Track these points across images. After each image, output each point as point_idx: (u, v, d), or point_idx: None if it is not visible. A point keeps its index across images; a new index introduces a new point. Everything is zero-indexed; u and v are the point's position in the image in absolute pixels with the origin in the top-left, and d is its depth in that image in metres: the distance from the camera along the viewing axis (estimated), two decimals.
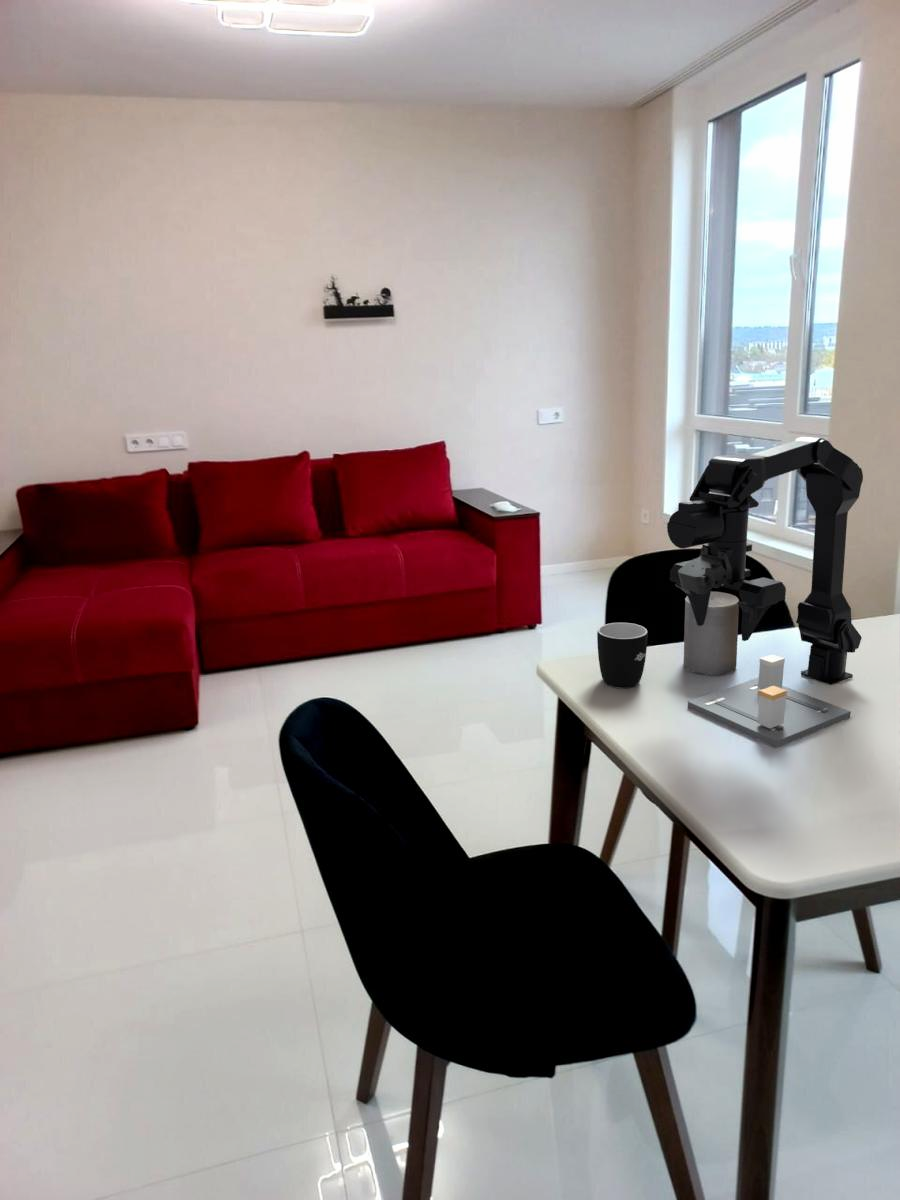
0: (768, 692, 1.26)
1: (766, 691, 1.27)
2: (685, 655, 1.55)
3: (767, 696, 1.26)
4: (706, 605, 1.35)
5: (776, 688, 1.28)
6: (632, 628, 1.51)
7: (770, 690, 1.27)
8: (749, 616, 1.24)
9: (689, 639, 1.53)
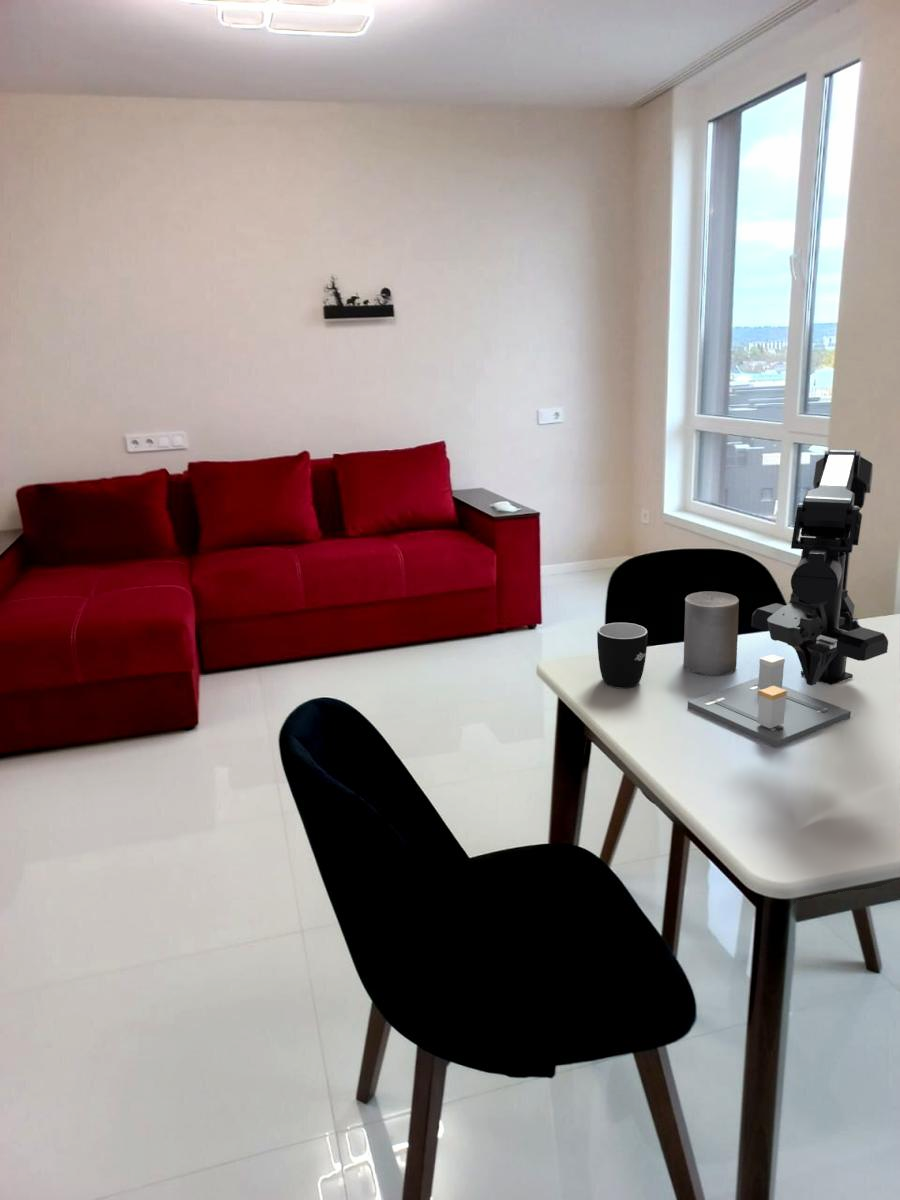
0: (768, 692, 1.26)
1: (766, 691, 1.27)
2: (685, 655, 1.55)
3: (767, 696, 1.26)
4: None
5: (776, 688, 1.28)
6: (632, 628, 1.51)
7: (770, 690, 1.27)
8: (818, 660, 1.17)
9: (689, 639, 1.53)
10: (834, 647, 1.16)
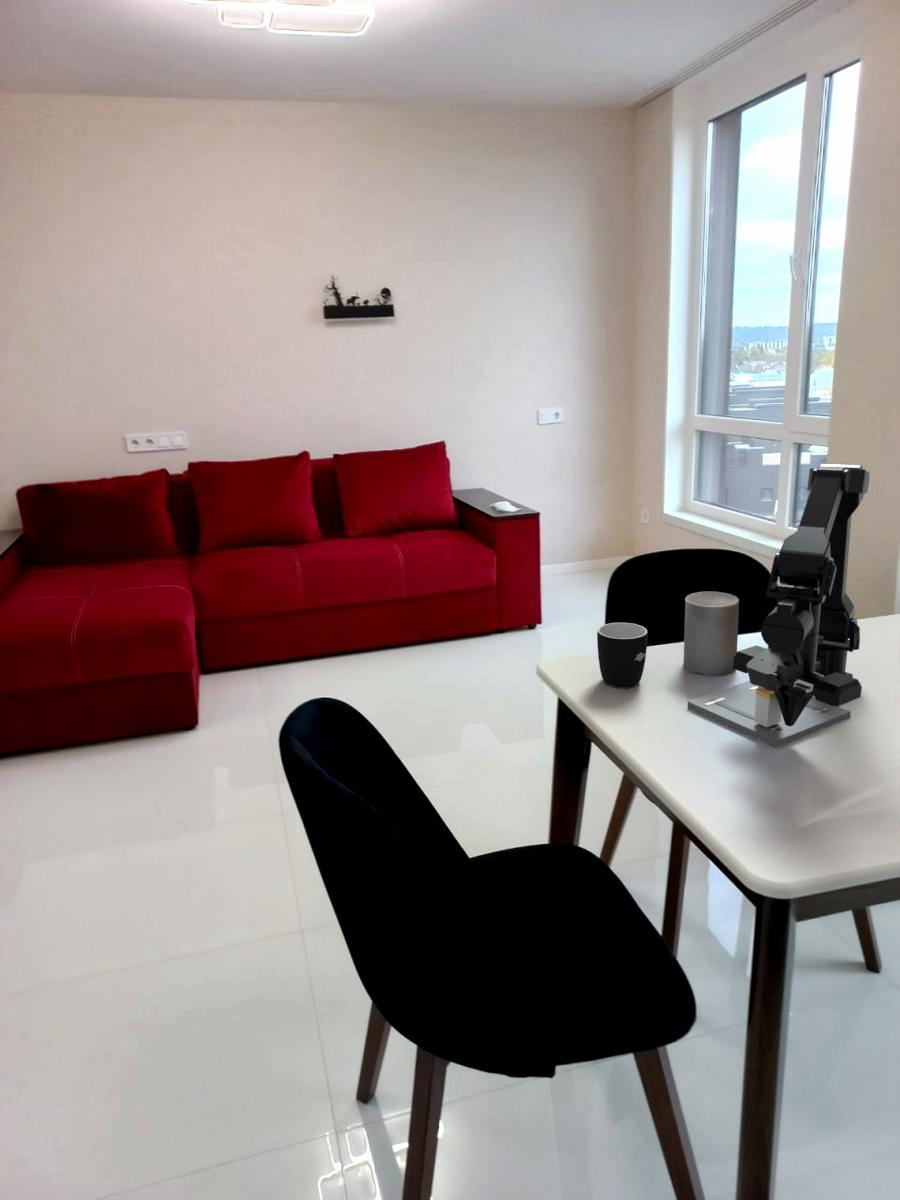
0: (765, 691, 1.27)
1: (763, 690, 1.27)
2: (685, 655, 1.55)
3: (764, 695, 1.27)
4: None
5: None
6: (632, 628, 1.51)
7: None
8: (796, 703, 1.22)
9: (689, 639, 1.53)
10: (810, 691, 1.20)
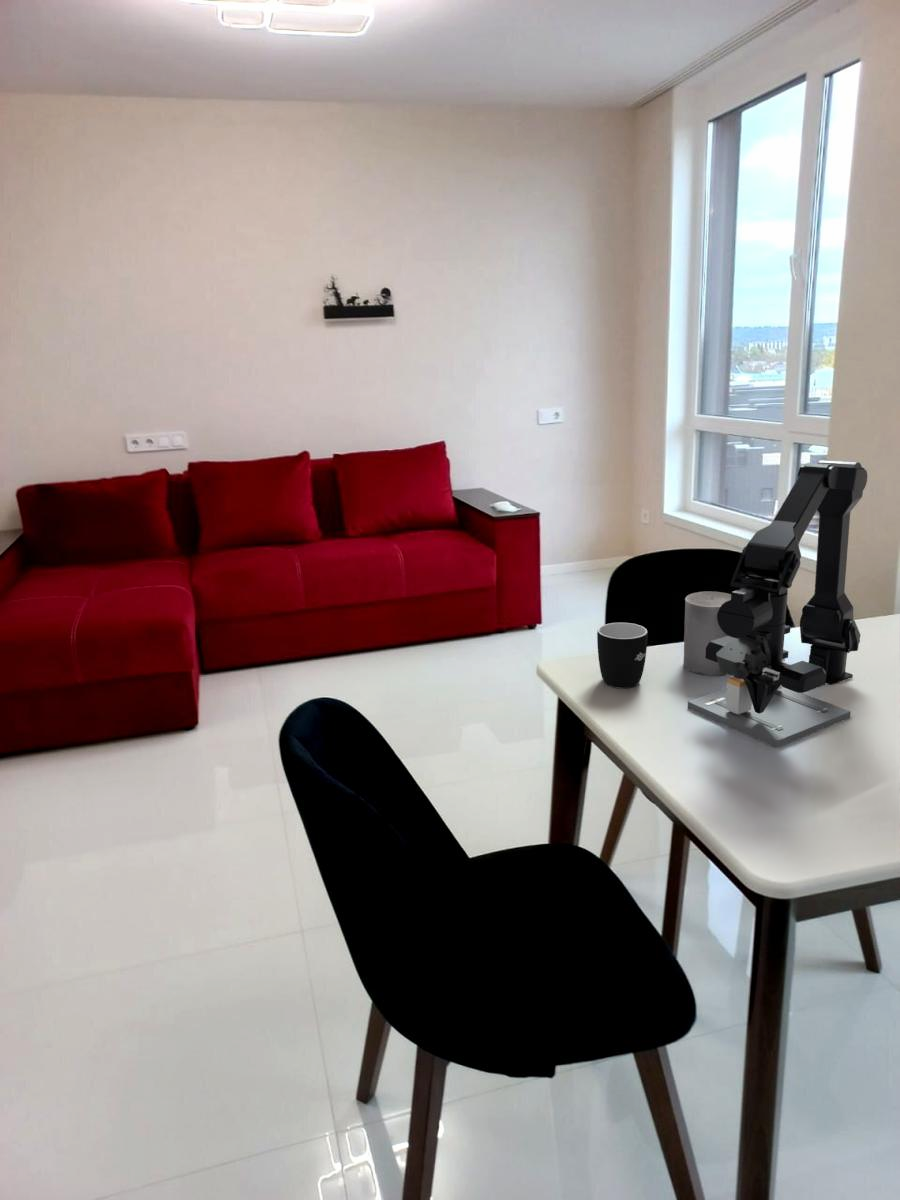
0: (736, 679, 1.32)
1: (734, 678, 1.32)
2: (685, 655, 1.55)
3: (735, 684, 1.31)
4: None
5: None
6: (632, 628, 1.51)
7: None
8: (764, 691, 1.27)
9: (689, 639, 1.53)
10: (778, 679, 1.25)
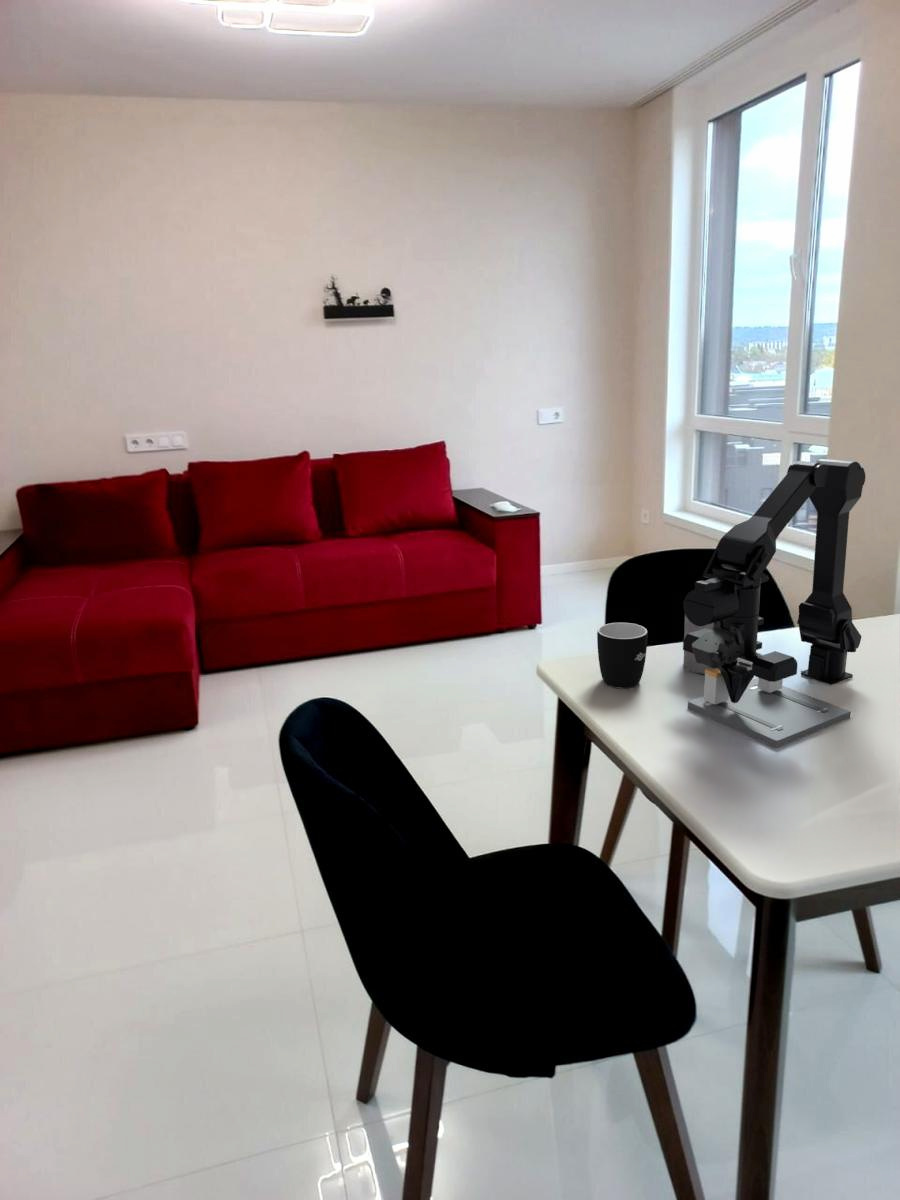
0: (713, 671, 1.36)
1: (711, 670, 1.36)
2: (685, 655, 1.55)
3: (712, 675, 1.35)
4: None
5: None
6: (632, 628, 1.51)
7: (715, 669, 1.36)
8: (739, 681, 1.31)
9: None
10: (751, 669, 1.29)
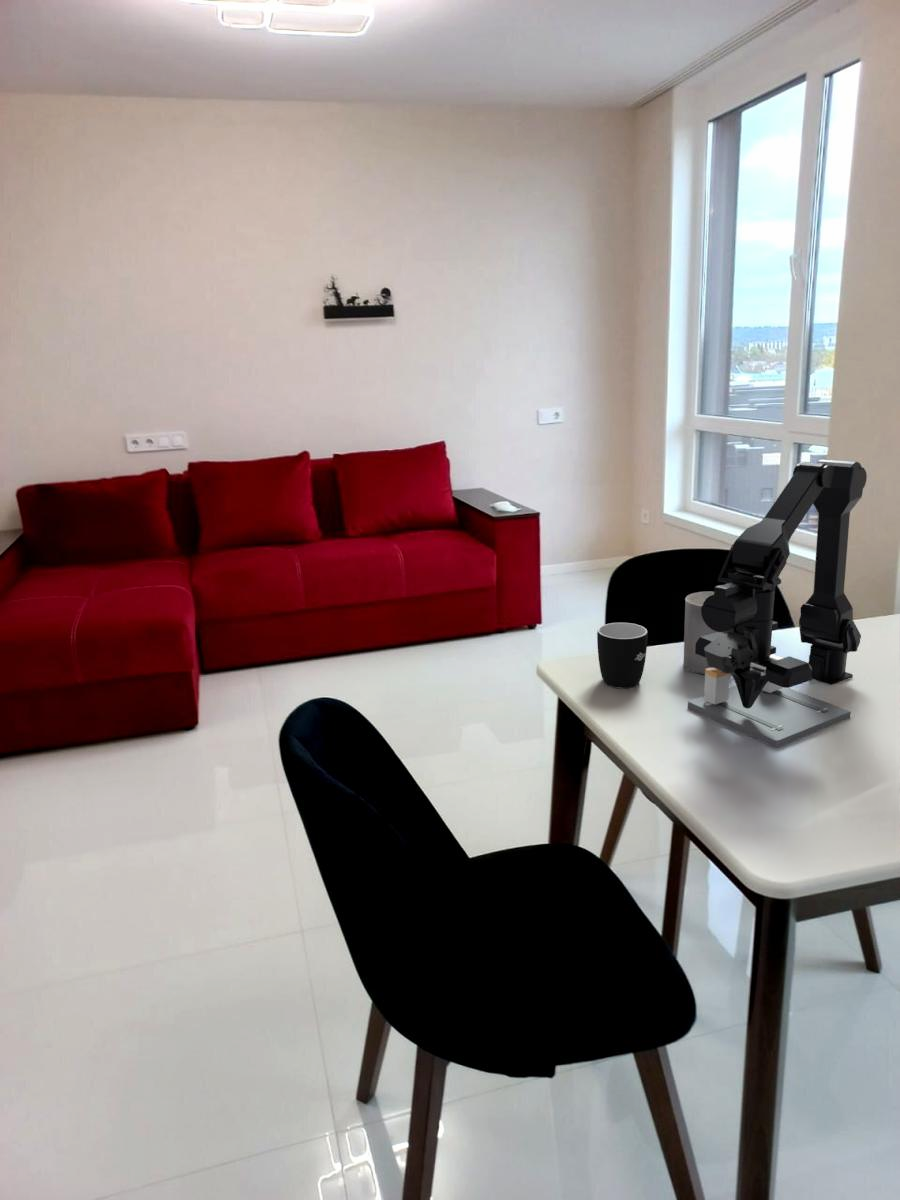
0: (713, 671, 1.36)
1: (711, 670, 1.36)
2: (685, 655, 1.55)
3: (712, 675, 1.35)
4: None
5: None
6: (632, 628, 1.51)
7: (715, 669, 1.36)
8: (752, 686, 1.29)
9: (689, 639, 1.53)
10: (765, 674, 1.27)
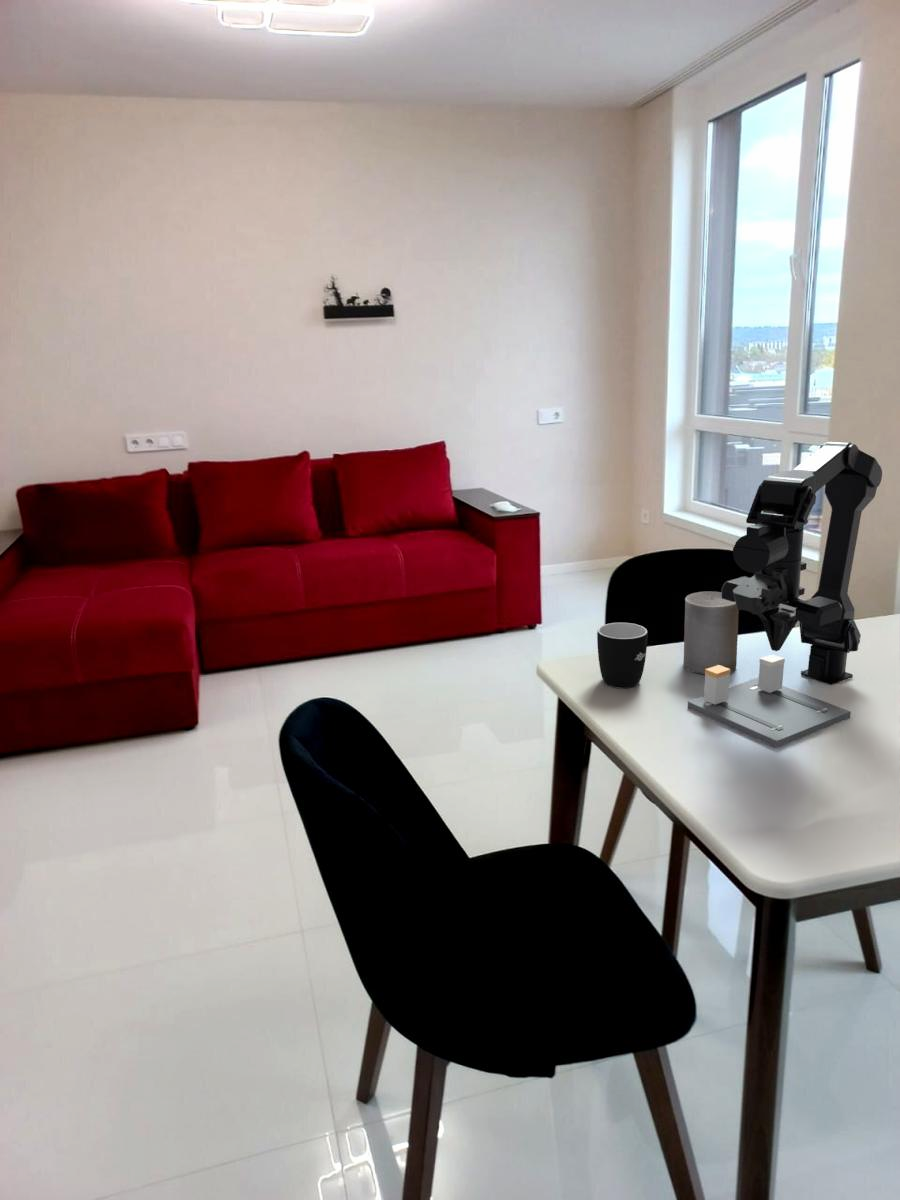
0: (713, 671, 1.36)
1: (711, 670, 1.36)
2: (685, 655, 1.55)
3: (712, 675, 1.35)
4: None
5: (721, 667, 1.37)
6: (632, 628, 1.51)
7: (715, 669, 1.36)
8: (781, 628, 1.28)
9: (689, 639, 1.53)
10: (794, 615, 1.26)
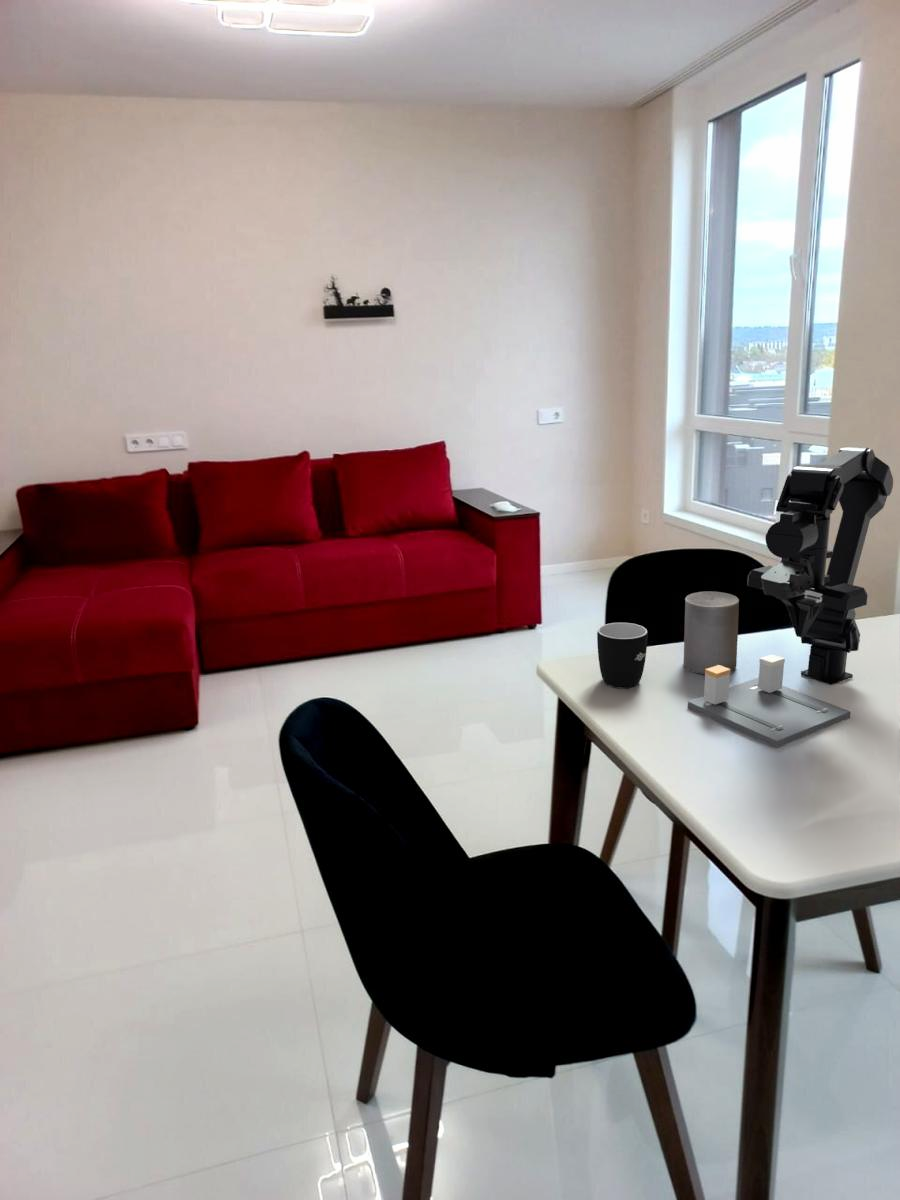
0: (713, 671, 1.36)
1: (711, 670, 1.36)
2: (685, 655, 1.55)
3: (712, 675, 1.35)
4: None
5: (721, 667, 1.37)
6: (632, 628, 1.51)
7: (715, 669, 1.36)
8: (806, 614, 1.32)
9: (689, 639, 1.53)
10: (820, 601, 1.30)
